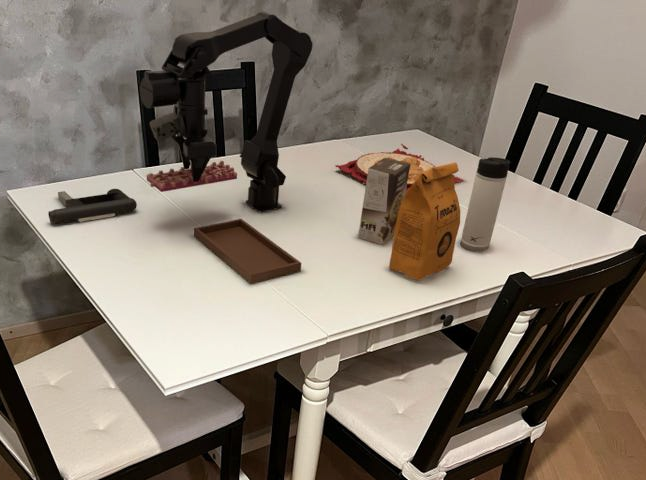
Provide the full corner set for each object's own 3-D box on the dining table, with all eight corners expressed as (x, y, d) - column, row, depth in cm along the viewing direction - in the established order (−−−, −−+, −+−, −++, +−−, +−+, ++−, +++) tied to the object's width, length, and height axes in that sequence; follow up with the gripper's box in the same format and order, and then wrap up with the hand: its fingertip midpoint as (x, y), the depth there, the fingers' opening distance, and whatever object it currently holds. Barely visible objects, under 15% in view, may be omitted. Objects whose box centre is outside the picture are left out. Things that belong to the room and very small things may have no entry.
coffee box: (383, 245, 163) (395, 174, 154) (357, 238, 165) (367, 167, 156) (399, 232, 169) (412, 163, 160) (374, 224, 172) (384, 156, 163)
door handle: (32, 192, 171) (52, 214, 159) (115, 180, 180) (140, 200, 168) (34, 206, 173) (54, 229, 161) (115, 194, 181) (141, 215, 170)
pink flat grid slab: (144, 180, 160) (143, 172, 159) (220, 168, 169) (221, 159, 168) (158, 192, 156) (158, 183, 154) (236, 178, 164) (237, 170, 163)
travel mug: (474, 254, 161) (495, 165, 150) (454, 242, 166) (473, 154, 155) (495, 250, 164) (518, 161, 153) (475, 238, 169) (496, 151, 157)
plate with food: (332, 171, 200) (334, 159, 198) (397, 153, 213) (399, 141, 211) (398, 202, 185) (400, 189, 183) (464, 180, 199) (466, 168, 197)
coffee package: (457, 271, 154) (481, 168, 142) (417, 287, 148) (438, 180, 135) (421, 253, 161) (441, 153, 148) (381, 267, 154) (398, 164, 142)
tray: (240, 226, 167) (241, 218, 166) (300, 271, 151) (301, 262, 150) (193, 236, 162) (193, 227, 161) (250, 284, 145) (250, 274, 144)
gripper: (142, 91, 158) (145, 162, 167) (162, 117, 143) (164, 194, 152) (193, 89, 161) (193, 159, 170) (218, 114, 147) (216, 190, 156)
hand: (191, 175), depth 162 cm, fingers closed on pink flat grid slab, 7 cm apart
